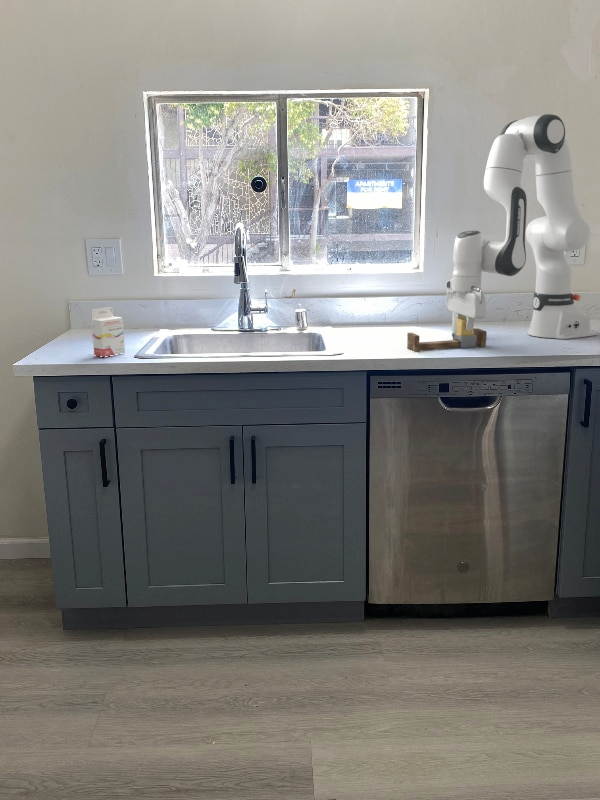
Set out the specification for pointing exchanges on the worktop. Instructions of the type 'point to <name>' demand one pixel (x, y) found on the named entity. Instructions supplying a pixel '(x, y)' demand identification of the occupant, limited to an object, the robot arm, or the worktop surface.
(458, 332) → the slider
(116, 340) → the ink cartridge box
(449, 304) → the robot arm
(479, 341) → the rail
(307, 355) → the worktop surface
